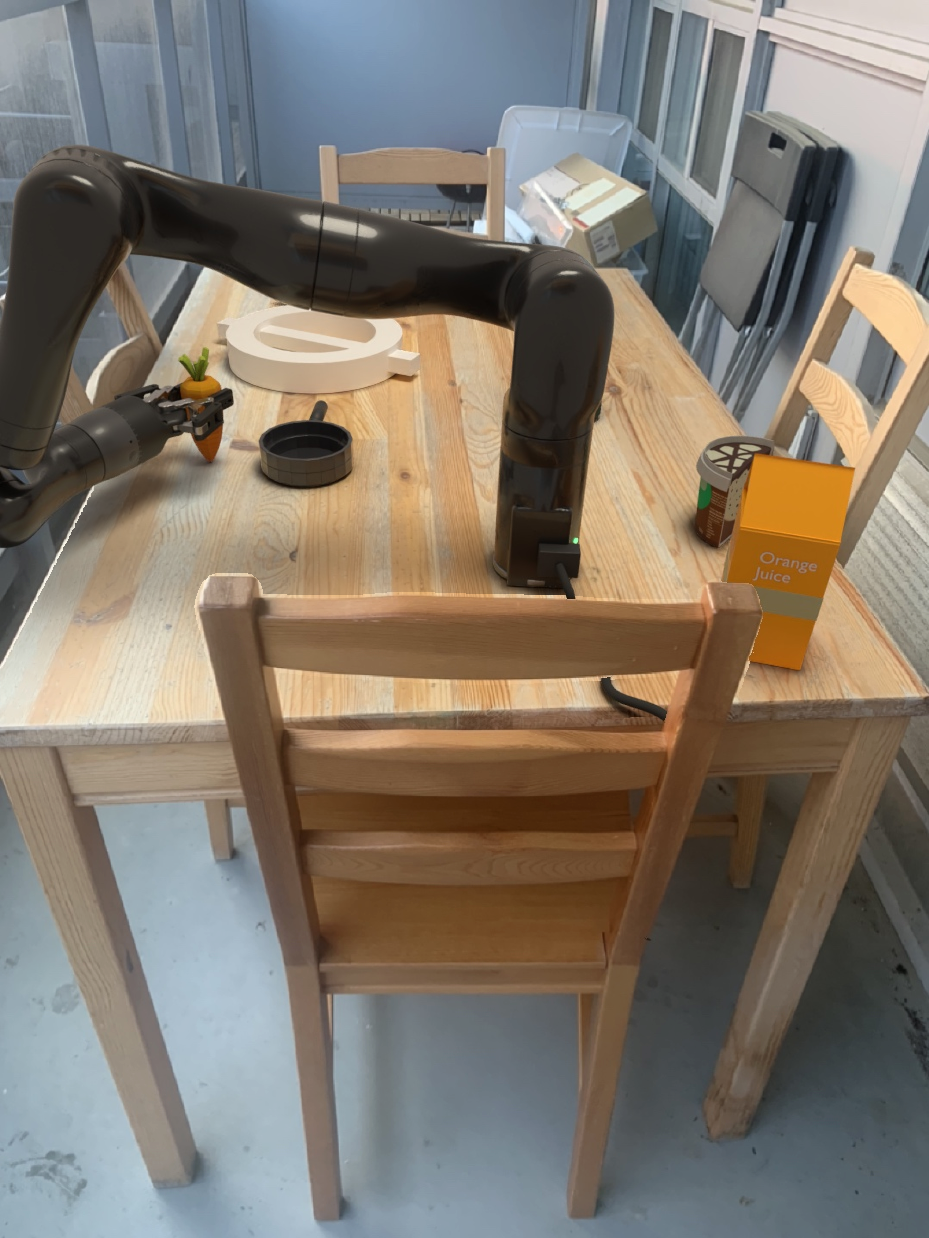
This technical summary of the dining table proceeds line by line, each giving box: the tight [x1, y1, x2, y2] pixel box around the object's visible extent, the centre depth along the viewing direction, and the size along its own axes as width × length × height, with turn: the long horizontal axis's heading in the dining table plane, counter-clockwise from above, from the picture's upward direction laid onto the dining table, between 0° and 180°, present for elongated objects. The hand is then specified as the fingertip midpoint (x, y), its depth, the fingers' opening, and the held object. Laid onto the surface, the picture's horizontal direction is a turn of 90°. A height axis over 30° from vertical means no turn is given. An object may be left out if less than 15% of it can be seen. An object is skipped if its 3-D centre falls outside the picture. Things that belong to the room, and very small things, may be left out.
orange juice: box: [720, 453, 856, 671], centre depth 87 cm, size 8×9×20 cm
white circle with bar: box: [216, 304, 421, 395], centre depth 149 cm, size 28×28×5 cm
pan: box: [258, 419, 355, 488], centre depth 119 cm, size 12×12×4 cm
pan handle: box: [308, 399, 329, 421], centre depth 125 cm, size 7×2×2 cm, turn 178°
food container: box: [694, 435, 776, 549], centre depth 108 cm, size 12×6×10 cm, turn 141°
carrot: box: [178, 346, 224, 463], centre depth 116 cm, size 5×5×15 cm
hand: (213, 391), depth 116 cm, fingers closed on carrot, 5 cm apart
